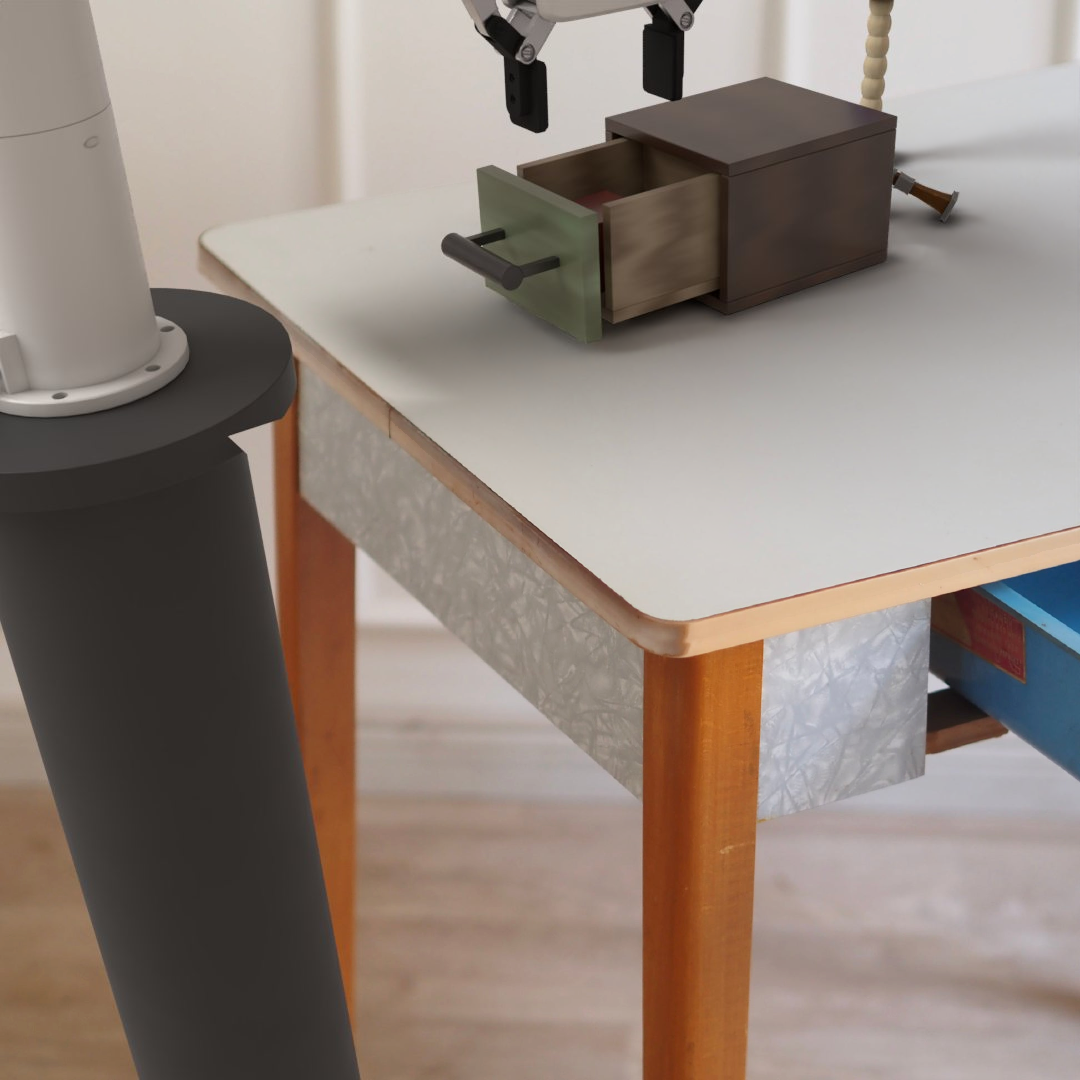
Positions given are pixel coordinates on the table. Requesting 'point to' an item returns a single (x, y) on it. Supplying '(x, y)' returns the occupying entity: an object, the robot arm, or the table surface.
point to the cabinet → (780, 181)
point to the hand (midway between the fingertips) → (597, 111)
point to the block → (595, 204)
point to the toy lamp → (876, 53)
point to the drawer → (596, 234)
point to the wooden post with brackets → (925, 194)
